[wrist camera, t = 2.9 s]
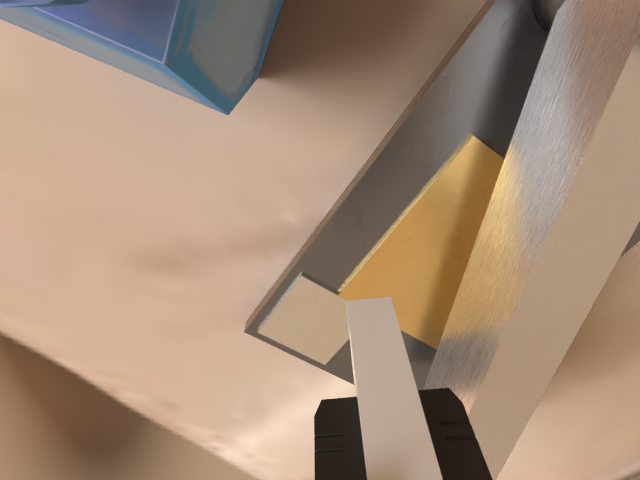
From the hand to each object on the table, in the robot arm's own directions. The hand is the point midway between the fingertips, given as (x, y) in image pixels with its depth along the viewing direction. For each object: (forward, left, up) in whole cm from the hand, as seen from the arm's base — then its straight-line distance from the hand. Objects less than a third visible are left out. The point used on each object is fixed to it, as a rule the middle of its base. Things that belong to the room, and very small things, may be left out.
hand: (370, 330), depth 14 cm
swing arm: (-5, +4, -3) cm, 7 cm away
